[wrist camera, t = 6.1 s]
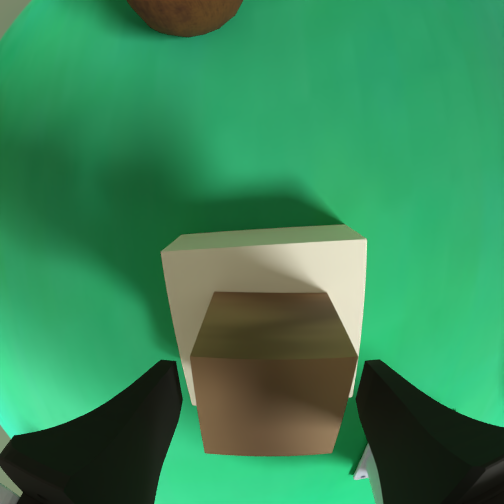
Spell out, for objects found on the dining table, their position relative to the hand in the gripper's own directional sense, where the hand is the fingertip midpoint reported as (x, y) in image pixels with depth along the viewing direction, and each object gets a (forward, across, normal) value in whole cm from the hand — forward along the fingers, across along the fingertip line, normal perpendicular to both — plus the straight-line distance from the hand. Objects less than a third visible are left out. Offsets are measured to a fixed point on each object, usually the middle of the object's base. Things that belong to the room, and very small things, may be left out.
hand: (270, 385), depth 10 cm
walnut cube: (+3, 0, 0) cm, 3 cm away
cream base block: (+7, 0, 0) cm, 7 cm away
